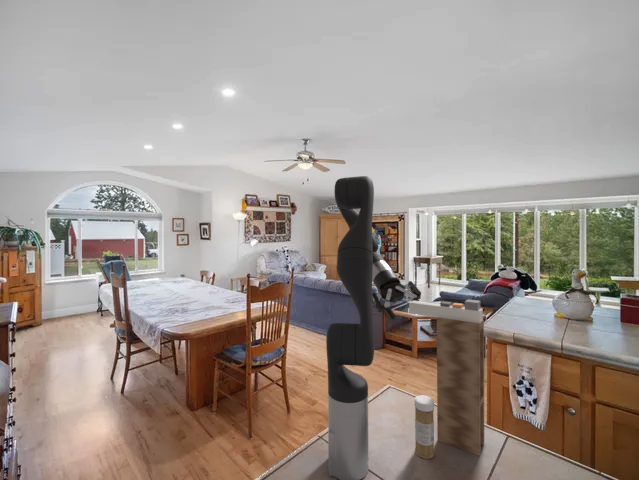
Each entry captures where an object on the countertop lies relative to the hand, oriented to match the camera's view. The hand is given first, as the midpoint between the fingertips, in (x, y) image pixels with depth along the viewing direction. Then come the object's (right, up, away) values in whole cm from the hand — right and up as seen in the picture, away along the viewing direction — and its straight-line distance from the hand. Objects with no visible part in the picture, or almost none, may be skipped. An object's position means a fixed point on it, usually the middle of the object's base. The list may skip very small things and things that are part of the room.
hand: (407, 314), depth 92 cm
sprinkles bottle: (0, -31, -15) cm, 34 cm away
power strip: (+7, +1, -8) cm, 11 cm away
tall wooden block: (+11, -31, -11) cm, 34 cm away
